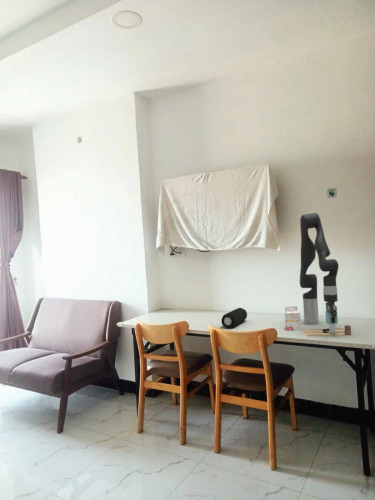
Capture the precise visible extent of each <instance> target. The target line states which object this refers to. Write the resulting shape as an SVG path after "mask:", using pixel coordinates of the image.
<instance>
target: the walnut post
mask: <svg viewBox="0 0 375 500" xmlns="http://www.w3.org/2000/svg"><path fill="white" fill-rule="evenodd" d="M343 326H344V329H345V334H346V335H345V336H352V335H351V334H352V328H351V325H347V324H345V325H343Z"/></svg>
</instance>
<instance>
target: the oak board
mask: <svg viewBox="0 0 375 500" xmlns="http://www.w3.org/2000/svg"><path fill="white" fill-rule="evenodd" d="M323 329H324V328H314V329H313V328H311V329H310V328H309V329H307V328H306V329H302V332H303V333H304V334H305V335H306V336H307V337H308V338H315V337H336V336H340V337H341V336H347V335H346V334H345V327H344V328H343V327H339V328H337V327H335V331H336V334H334V335H331V334H330V331H329V333H323V332H322V330H323ZM328 329H329V330H330V328H328ZM350 336H353V334H352V333H351V335H350Z"/></svg>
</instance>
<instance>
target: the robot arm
mask: <svg viewBox="0 0 375 500" xmlns="http://www.w3.org/2000/svg"><path fill="white" fill-rule="evenodd" d="M299 222H300V224H299V227H300V269H299V270H300V274H299V285H300V288H301V289H310V290H308V291H306V292H304V293H302V303H303V304H302V305H303V306H302V307H303V321H304V322H303V324H304V325H319V323H320V322H319V321H320V320H319V305H318V304H319V303H318V302H319V300H318V277H317V275H316V274H315V273H308V274H307V271H308V269H309V267H310V266H311V265H312V263H313V262H314V261H315V259H316V253H317V259H318V268H319V269H320V271H322V272H324V273H325V272H326V273H327V272H328V273H327V274H326V275H324V276H323V278H322V281H323V289H322V290H323V291H322V292H323V301H324V302H325V311H329V313H331V323H335V317H336V316H337V317H338V312H337V311H338V306H336V303H337V302H338V288H337V277H338V276H337V275H338V271H339V266H340V265H339V262H338V260H336V259H335V258H334V259H333V258H330V259H329V258H328V257H329V256H330V255H331V250H330V248H329V246H328V243H327V241H326V238H325V234H324V229H323V225H322V221H321V217H320V216H319V214H318V213H317V212H313V213H306V214H301V216H300V219H299ZM310 229H314V230H315V231H316V236H315V240H314V242H313V240H312V239H311V238H310V236H309V230H310ZM327 258H328V259H327ZM333 313H334V314H333Z"/></svg>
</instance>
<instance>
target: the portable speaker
mask: <svg viewBox="0 0 375 500" xmlns="http://www.w3.org/2000/svg"><path fill="white" fill-rule="evenodd" d="M247 317H248V312H247V310H246V309H244V308H243V307H237V308H235V309H234V310H233V309H232V310H231V311H229V312H227V313H225V314H223V315H222V317H221V325H222V326H223V327H224V328H227V329H232V328H234V327H235V326H236V325H238V324H240V323H243V322H244V321H246V319H247Z"/></svg>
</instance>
